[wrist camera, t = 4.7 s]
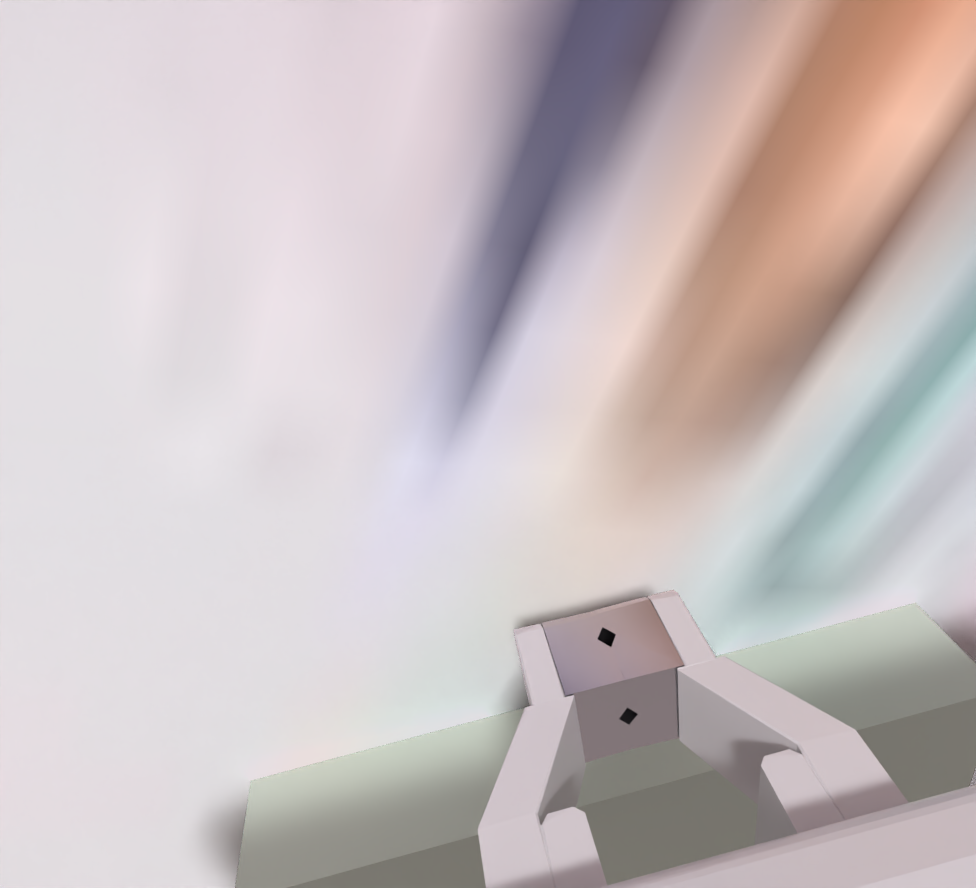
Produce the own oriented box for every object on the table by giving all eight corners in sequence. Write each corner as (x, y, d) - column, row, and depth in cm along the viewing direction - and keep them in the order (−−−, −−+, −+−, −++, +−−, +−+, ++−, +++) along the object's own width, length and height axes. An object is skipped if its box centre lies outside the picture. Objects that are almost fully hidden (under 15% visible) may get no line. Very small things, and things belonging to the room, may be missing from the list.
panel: (902, 589, 16) (1002, 690, 14) (851, 843, 23) (914, 944, 20) (253, 762, 16) (232, 902, 13) (389, 973, 22) (393, 1095, 19)
